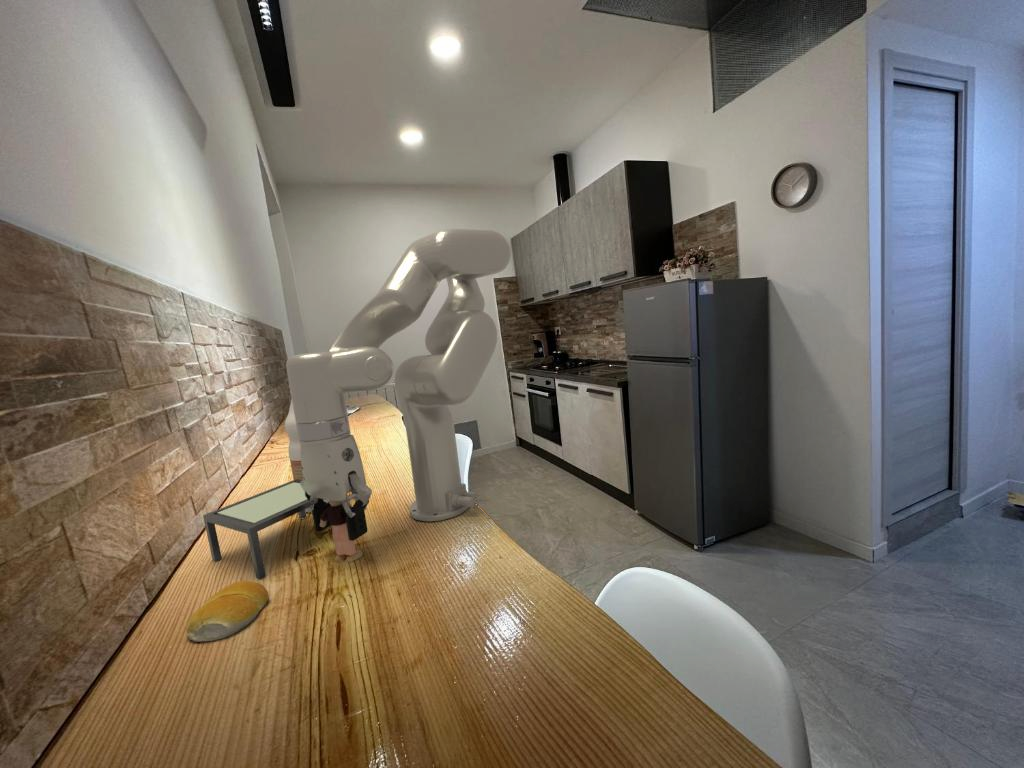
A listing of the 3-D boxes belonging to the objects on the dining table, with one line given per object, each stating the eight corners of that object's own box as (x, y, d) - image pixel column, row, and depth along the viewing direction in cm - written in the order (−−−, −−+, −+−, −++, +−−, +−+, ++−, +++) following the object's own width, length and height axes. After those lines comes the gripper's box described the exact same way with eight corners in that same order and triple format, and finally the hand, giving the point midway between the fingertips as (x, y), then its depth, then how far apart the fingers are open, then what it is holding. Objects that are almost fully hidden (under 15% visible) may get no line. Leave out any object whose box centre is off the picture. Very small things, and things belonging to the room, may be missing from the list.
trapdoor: (334, 503, 74) (331, 488, 74) (257, 540, 62) (254, 522, 62) (296, 496, 80) (294, 482, 80) (220, 528, 68) (216, 512, 68)
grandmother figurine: (372, 549, 66) (361, 479, 65) (361, 562, 63) (349, 488, 61) (331, 551, 67) (318, 481, 66) (317, 564, 64) (304, 491, 62)
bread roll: (278, 591, 58) (273, 567, 57) (244, 637, 49) (238, 608, 48) (219, 601, 57) (213, 576, 56) (173, 650, 48) (166, 620, 47)
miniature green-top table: (350, 527, 76) (343, 486, 75) (259, 579, 61) (249, 528, 60) (303, 516, 83) (296, 478, 82) (212, 560, 68) (202, 515, 67)
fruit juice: (293, 517, 83) (269, 389, 80) (306, 500, 92) (285, 384, 89) (339, 508, 85) (318, 383, 82) (347, 492, 94) (329, 379, 91)
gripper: (380, 424, 61) (396, 529, 63) (312, 422, 70) (328, 514, 72) (339, 438, 55) (358, 554, 57) (269, 433, 63) (288, 534, 65)
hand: (341, 531), depth 64 cm, fingers closed on grandmother figurine, 7 cm apart
